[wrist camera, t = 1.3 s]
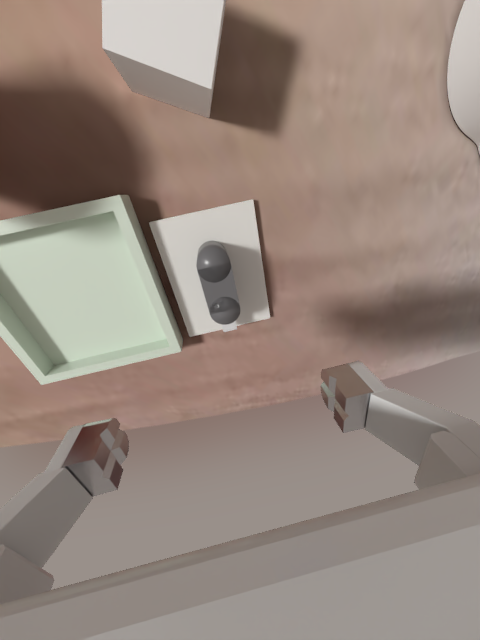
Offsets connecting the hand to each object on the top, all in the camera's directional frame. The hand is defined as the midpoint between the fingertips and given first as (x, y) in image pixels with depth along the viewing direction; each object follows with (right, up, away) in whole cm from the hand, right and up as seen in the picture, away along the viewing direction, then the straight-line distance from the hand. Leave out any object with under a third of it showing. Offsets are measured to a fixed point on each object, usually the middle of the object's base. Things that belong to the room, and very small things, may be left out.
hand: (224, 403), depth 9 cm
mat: (-2, +8, +16) cm, 18 cm away
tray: (-16, +6, +15) cm, 23 cm away
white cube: (-4, +23, +8) cm, 25 cm away
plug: (-2, +8, +16) cm, 18 cm away
